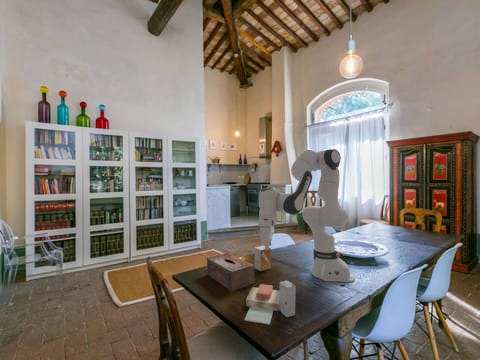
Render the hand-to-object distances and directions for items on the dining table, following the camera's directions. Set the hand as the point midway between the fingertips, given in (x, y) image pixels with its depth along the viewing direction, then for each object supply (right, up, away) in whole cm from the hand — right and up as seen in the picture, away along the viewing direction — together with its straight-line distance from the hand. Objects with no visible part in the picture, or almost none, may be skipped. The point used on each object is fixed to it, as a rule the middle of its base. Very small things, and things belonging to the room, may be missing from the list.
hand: (268, 247), depth 118 cm
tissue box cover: (-20, -22, +13) cm, 32 cm away
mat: (-6, -21, -22) cm, 31 cm away
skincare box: (+6, -22, -20) cm, 30 cm away
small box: (0, -21, +27) cm, 35 cm away
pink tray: (-3, -18, -10) cm, 21 cm away
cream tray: (-3, -21, -11) cm, 24 cm away
